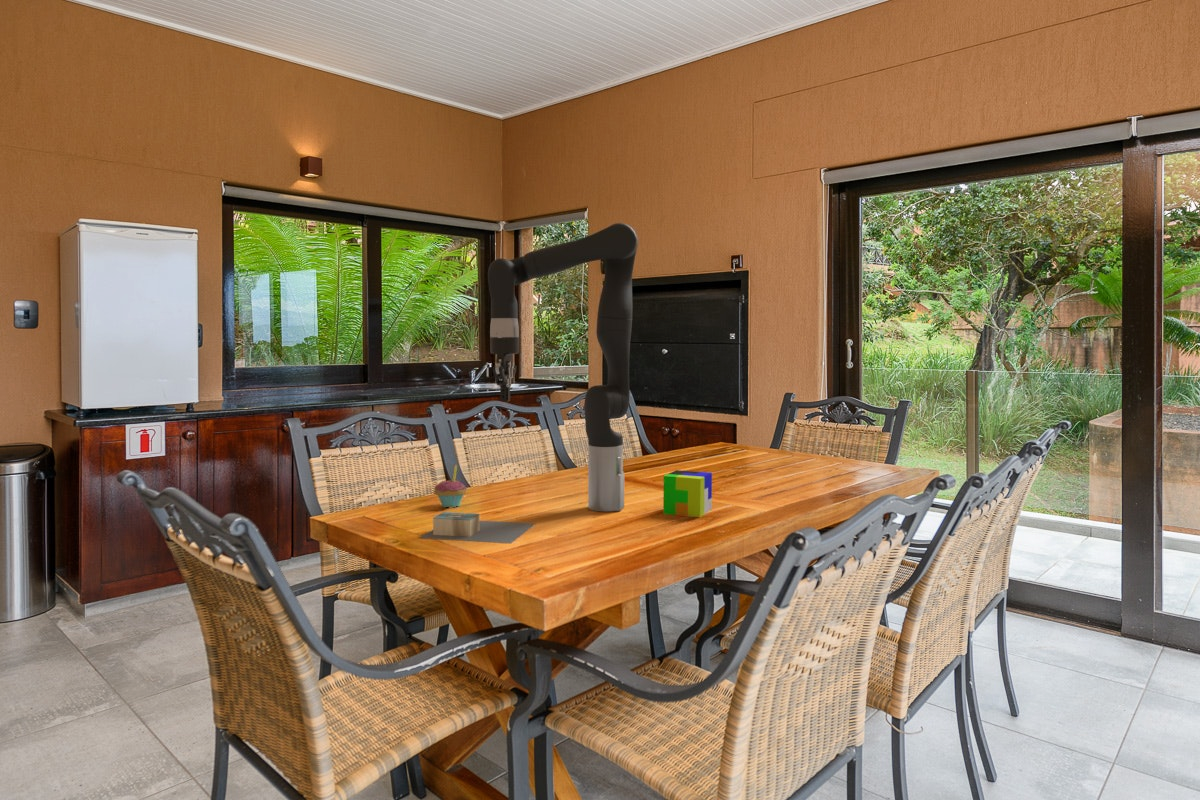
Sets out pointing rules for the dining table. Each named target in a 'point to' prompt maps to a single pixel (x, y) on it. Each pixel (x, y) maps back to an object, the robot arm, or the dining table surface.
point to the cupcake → (450, 491)
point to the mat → (489, 532)
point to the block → (456, 524)
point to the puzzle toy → (687, 493)
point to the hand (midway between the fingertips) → (505, 401)
